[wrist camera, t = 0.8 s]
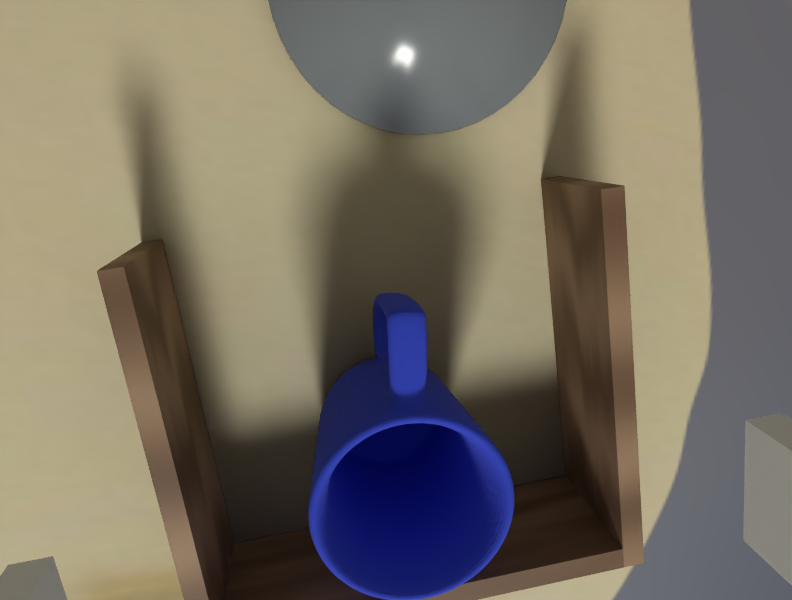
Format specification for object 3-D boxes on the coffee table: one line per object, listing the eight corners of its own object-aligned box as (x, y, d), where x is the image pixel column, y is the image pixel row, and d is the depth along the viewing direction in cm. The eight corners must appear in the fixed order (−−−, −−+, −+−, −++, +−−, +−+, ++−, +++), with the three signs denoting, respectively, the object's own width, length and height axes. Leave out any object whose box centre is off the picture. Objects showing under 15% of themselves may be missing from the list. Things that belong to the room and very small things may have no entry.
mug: (459, 261, 34) (521, 310, 24) (458, 473, 37) (513, 591, 27) (298, 268, 33) (296, 322, 23) (311, 486, 36) (313, 613, 26)
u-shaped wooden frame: (141, 242, 31) (96, 271, 25) (560, 176, 33) (624, 185, 27) (219, 563, 36) (200, 660, 29) (583, 487, 38) (643, 562, 31)
